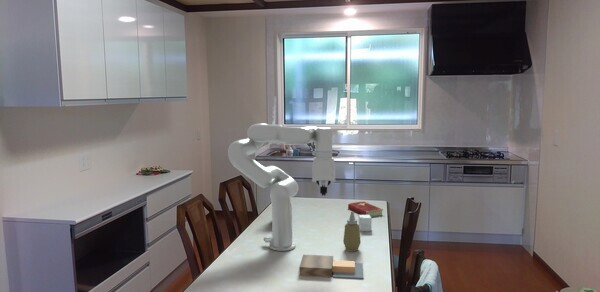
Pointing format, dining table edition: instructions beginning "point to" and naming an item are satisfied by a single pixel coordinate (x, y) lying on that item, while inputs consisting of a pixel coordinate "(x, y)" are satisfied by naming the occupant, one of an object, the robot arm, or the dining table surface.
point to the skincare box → (365, 222)
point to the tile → (343, 266)
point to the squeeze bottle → (352, 234)
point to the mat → (356, 275)
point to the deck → (316, 265)
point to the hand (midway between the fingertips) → (323, 194)
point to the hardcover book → (365, 208)
